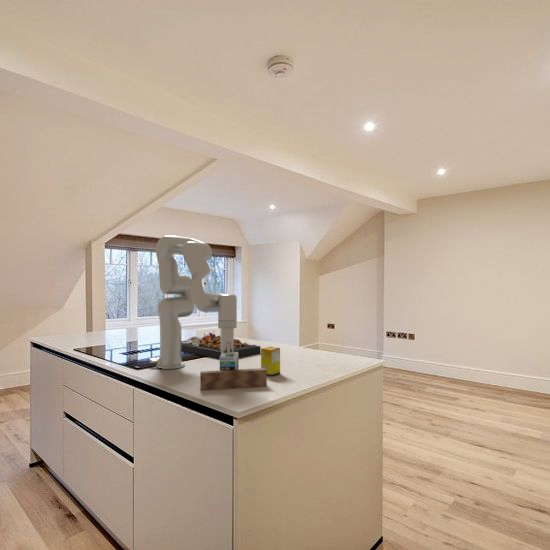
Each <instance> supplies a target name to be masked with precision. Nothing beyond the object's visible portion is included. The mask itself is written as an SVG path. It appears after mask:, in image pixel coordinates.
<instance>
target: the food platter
mask: <svg viewBox="0 0 550 550" xmlns="http://www.w3.org/2000/svg"><path fill="white" fill-rule="evenodd" d="M214 332H215V330H214V329H213V333H212V332H208V334H206V333H205V332H203V337H199V336H196V335H195V336H192V337H189V338H188V339H187V340H181V352H182V351H185V352H184V353H187V352H190V353H189V354H192V353H194V354H193V355H197V354H199V356H202V355H203V357H208V358H212V359H218V360H220V356H221V354H222V353H221V351H220V334H219V335H216V334H215V333H214ZM261 348H262V347H261V345H257V344H250V343H249V344H248V343H247V342H243V343H242V342H241V340H240V339H235V338H234V348H233V352H238V359H241V358H244V357H249V356H254V355H258V354H259V355H261Z"/></svg>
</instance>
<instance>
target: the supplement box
mask: <svg viewBox="0 0 550 550" xmlns="http://www.w3.org/2000/svg"><path fill="white" fill-rule="evenodd" d="M260 368H265V369H266V370H267V377H273V376H277V375H281V348H280V347H275V346H267V347H261V353H260Z"/></svg>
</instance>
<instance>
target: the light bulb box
mask: <svg viewBox="0 0 550 550" xmlns="http://www.w3.org/2000/svg"><path fill="white" fill-rule="evenodd" d="M239 364H240V363H239V358H238V352H230V353H227V352H223V353H222V354H221V356H220V359H219V371H220V370H239V369H240V368H239Z"/></svg>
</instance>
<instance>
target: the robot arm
mask: <svg viewBox="0 0 550 550" xmlns="http://www.w3.org/2000/svg"><path fill="white" fill-rule="evenodd" d="M155 253H156V254H155V255H156V260H157V265H158V276H159V288H160V292H161V293H162V294H164V295H177V296H174V297H173V296H172V297H165V298H163V299H161V300H160V301H159V302H158V305H157V313H158V318H159V356H158V357H155V358H150V357H149V363H150V364H151V363H152V364H156V365H155V366H156V368H157V367H158V368H157V369H159V368H162V369H161V370H175V369H181V368H183V367H185V366H186V362H184V361H182V351H181V341H182V335H183V333H182V324H181V322H180V320H179V318H185V317H189V316H192V314H194V313H193V312H194V310H195V308H196V309H197V310H198V311H199V312H202V313H207V312H217V313H218V314H217V315H218V316H217V320H218V321H217V327H218V329H220V332H219V336H220V351H221V353H223V352H227V353H230V352H233V348H234V339H235V329H236V328H238V327H237V325H238V324H237V322H238V320H237V319H238V318H237V317H238V312H237V311H238V307H237V306H238V304H237V303H238V300H237V299H238V297H237V296H236V294H235V293H218V292H215V293H212V292H210V293H207V292H206V291H205V290H204V287H203V282H202V281H203V279H205V278H206V277H208V276H209V274H210V273H211V268H210V267H211V266H209V262H208V261H210V260H211V258H212V257H213V256H212V255H213V251H212V247H211V246H210V245H209V244H208V243H206V242H204V241H200V240H197V239H194V238H191V237H185V236H180V235H179V236H178V235H171V234H170V235H163V236H161V237H160V238H159V239H158V241H157V243H156V247H155ZM174 255H179V256H182V257H183V258H184V261H185V263H186V267H187V269H188V270H189V273H190V276H191V277H190V276H189V275H186V274H182V273H181V274H179V266H178V262H177V260H176V259H175V257H174Z"/></svg>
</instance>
